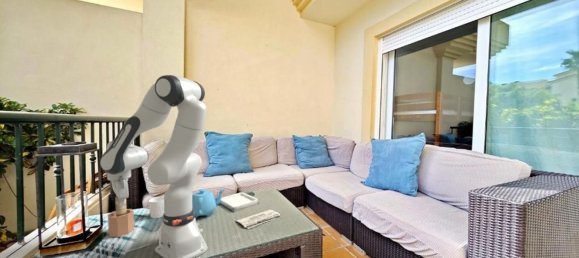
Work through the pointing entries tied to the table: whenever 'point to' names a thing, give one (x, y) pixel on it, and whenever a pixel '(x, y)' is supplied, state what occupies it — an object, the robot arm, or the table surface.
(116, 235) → the pot
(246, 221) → the newspaper
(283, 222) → the table surface
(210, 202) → the teapot
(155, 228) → the table surface
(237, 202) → the tray
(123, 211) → the dowel
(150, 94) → the robot arm
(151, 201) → the white cup
